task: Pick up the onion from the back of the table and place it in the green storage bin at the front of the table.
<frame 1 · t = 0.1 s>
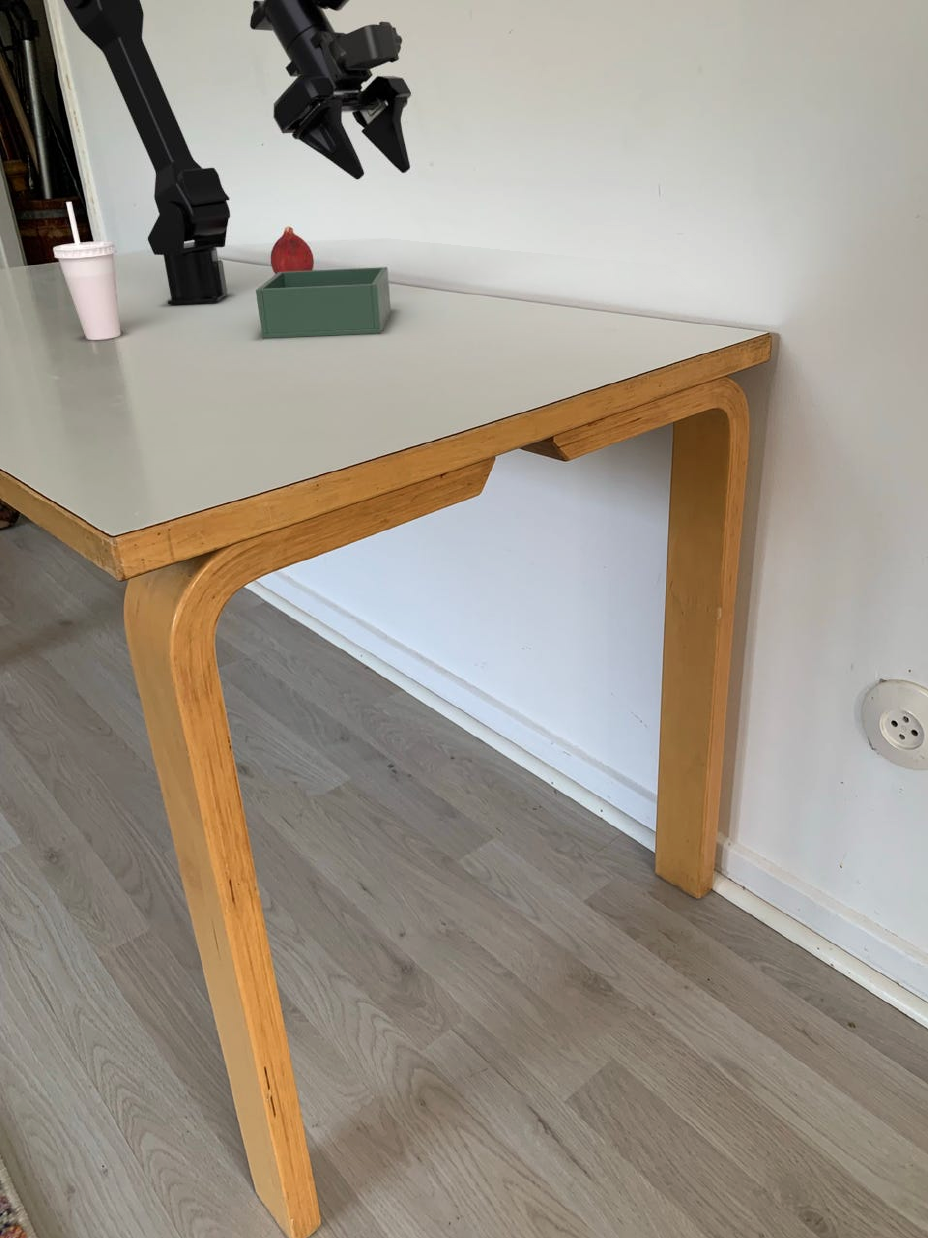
hand: (384, 173, 106), 15 cm above the table, tool tilted 35°, fingers open, 9 cm apart
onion: (295, 290, 132), on the table
green storage bin: (329, 323, 108), on the table
smoothie: (104, 337, 108), on the table
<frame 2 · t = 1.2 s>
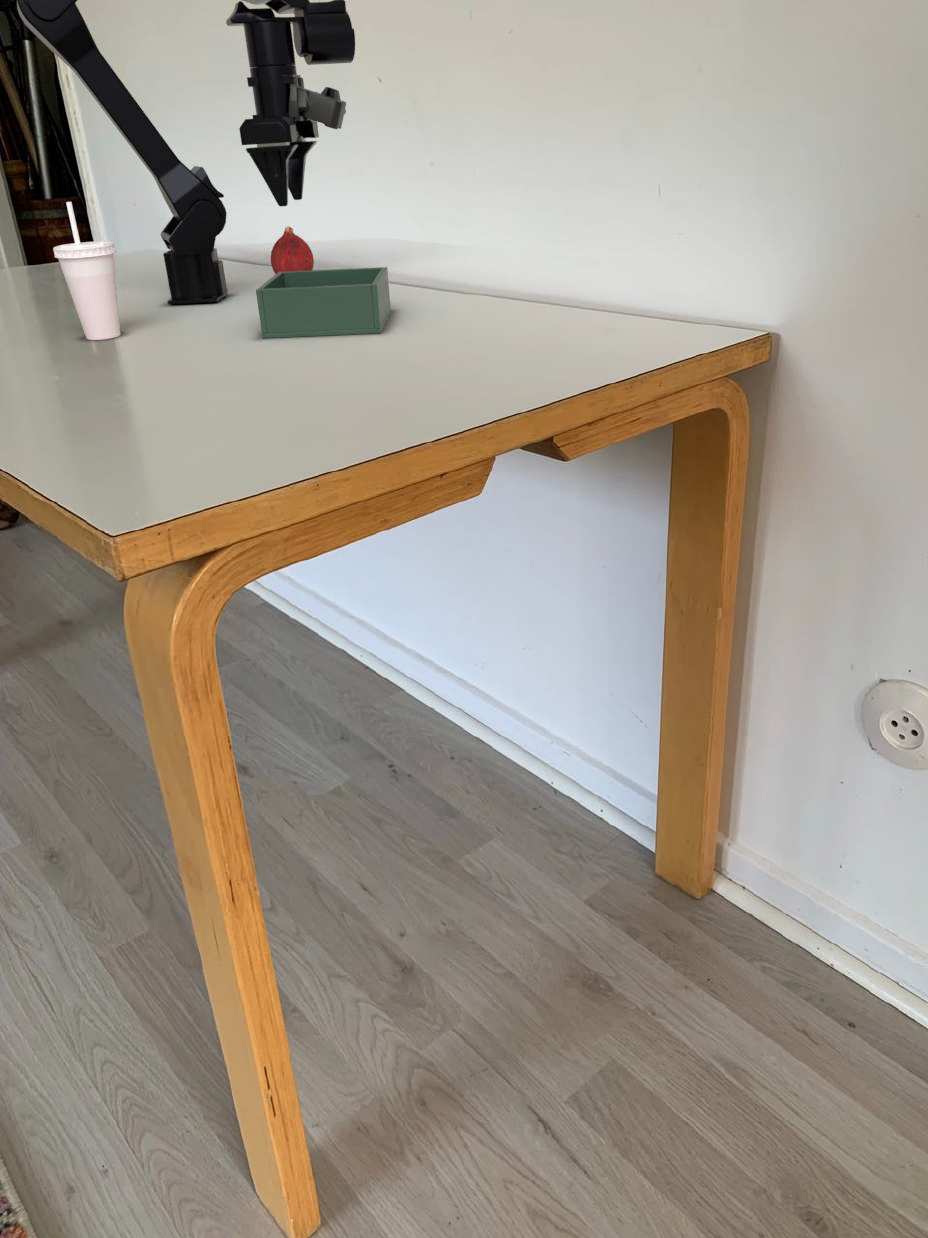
hand: (290, 202, 126), 11 cm above the table, tool pointing down, fingers open, 9 cm apart
nothing on the table moved.
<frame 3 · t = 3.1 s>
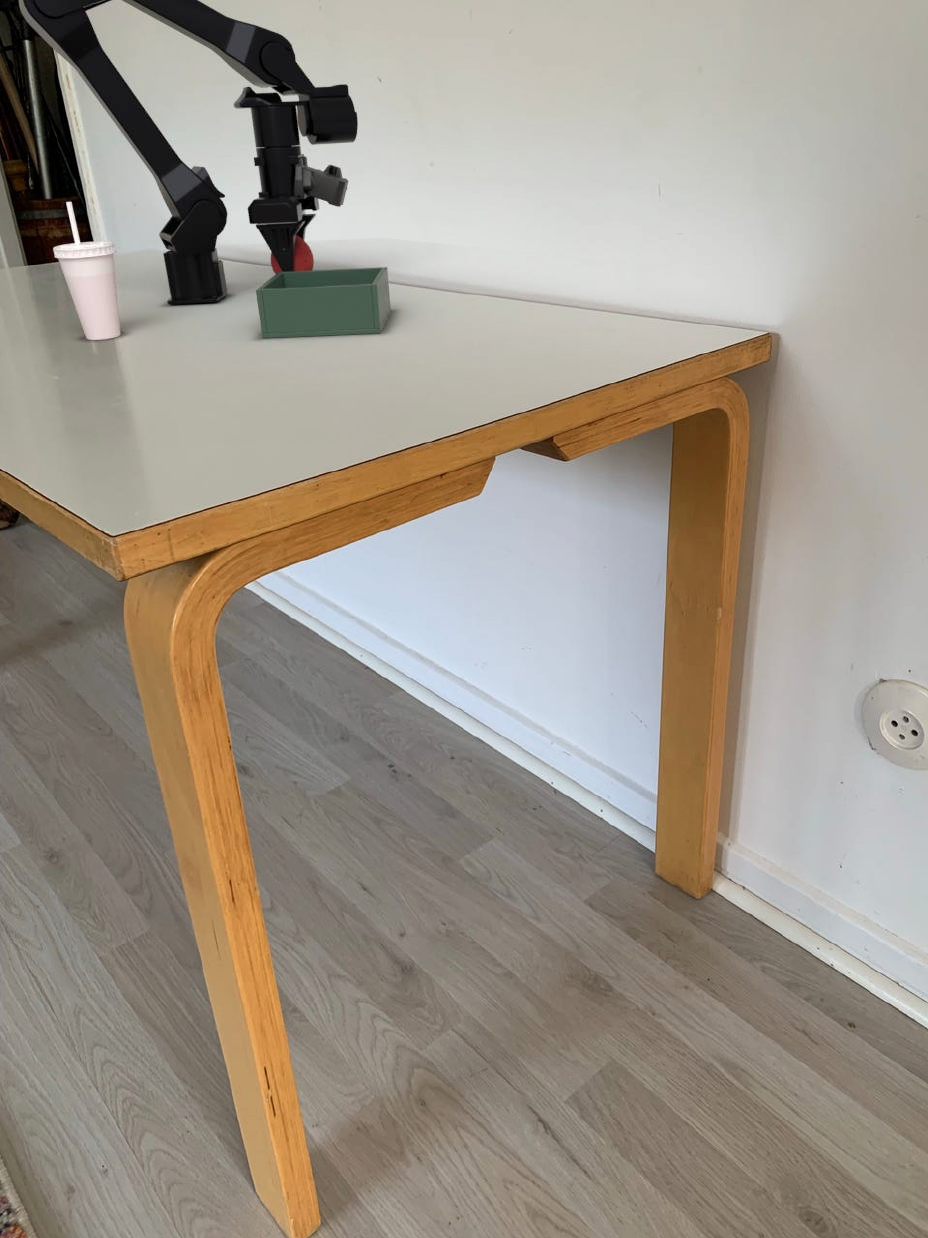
hand: (293, 273, 131), 2 cm above the table, tool pointing down, fingers closed on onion, 6 cm apart
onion: (295, 290, 132), on the table, touching gripper
everything else where it was.
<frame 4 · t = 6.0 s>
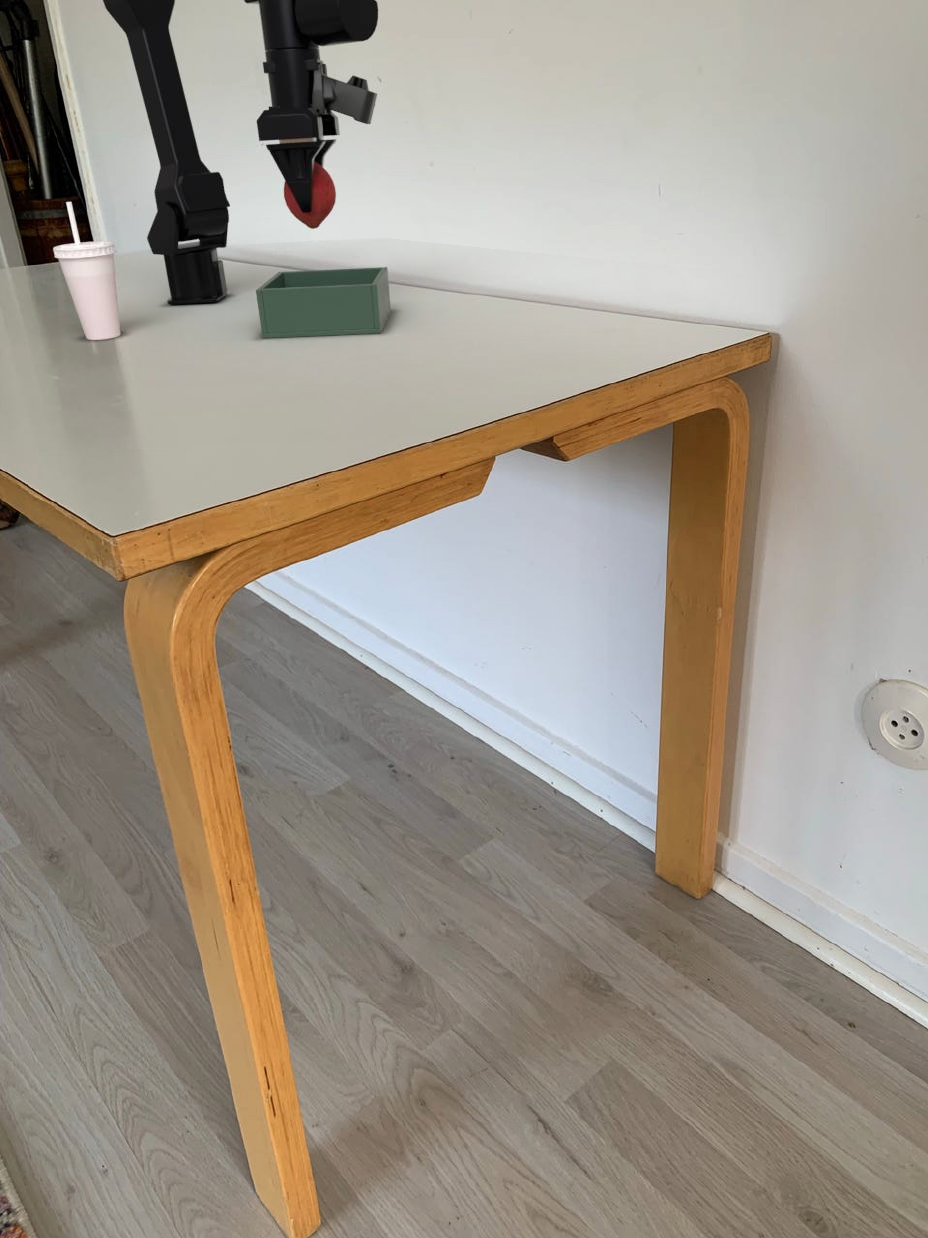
hand: (310, 209, 108), 11 cm above the table, tool pointing down, fingers closed on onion, 6 cm apart
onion: (314, 230, 109), point 9 cm above the table, touching gripper
everything else where it was.
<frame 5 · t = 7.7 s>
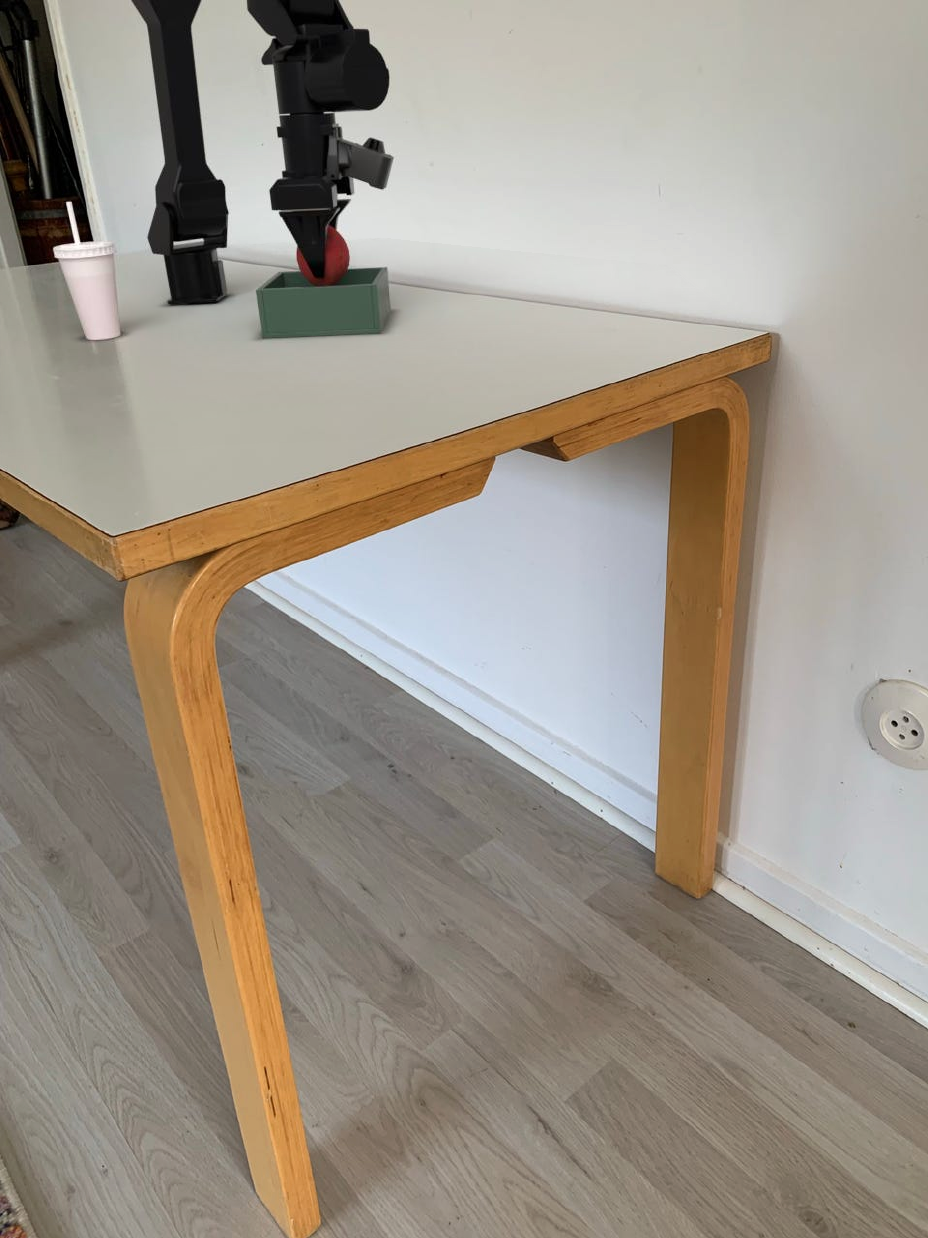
hand: (323, 273, 106), 5 cm above the table, tool pointing down, fingers closed on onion, 6 cm apart
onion: (326, 293, 107), point 3 cm above the table, touching gripper
everything else where it was.
when the fingers open (3 cm above the table, at t = 9.4 s): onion stays where it is, resting on green storage bin.
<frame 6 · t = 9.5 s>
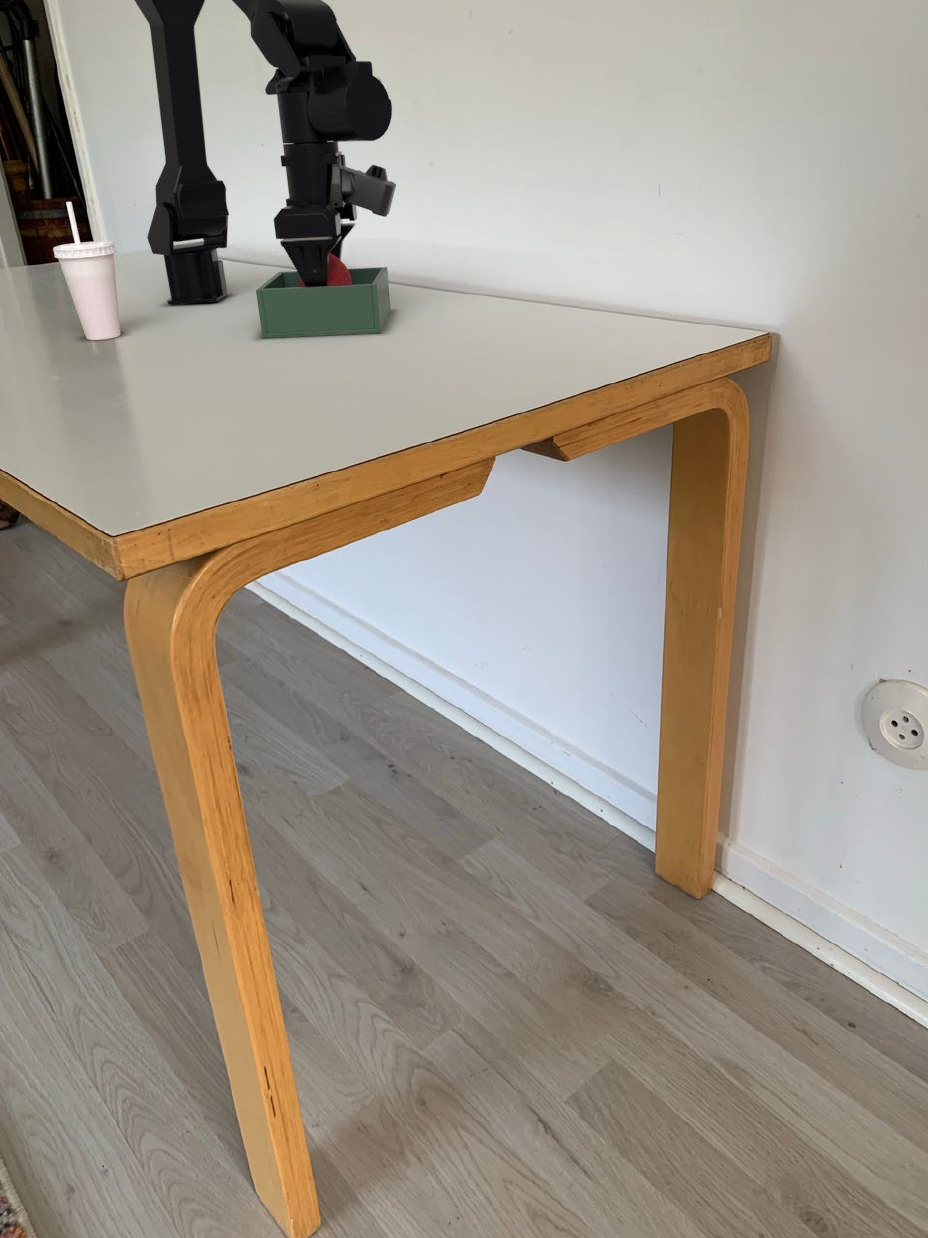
hand: (327, 298, 107), 3 cm above the table, tool pointing down, fingers open, 9 cm apart
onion: (329, 320, 108), resting on green storage bin
everything else where it was.
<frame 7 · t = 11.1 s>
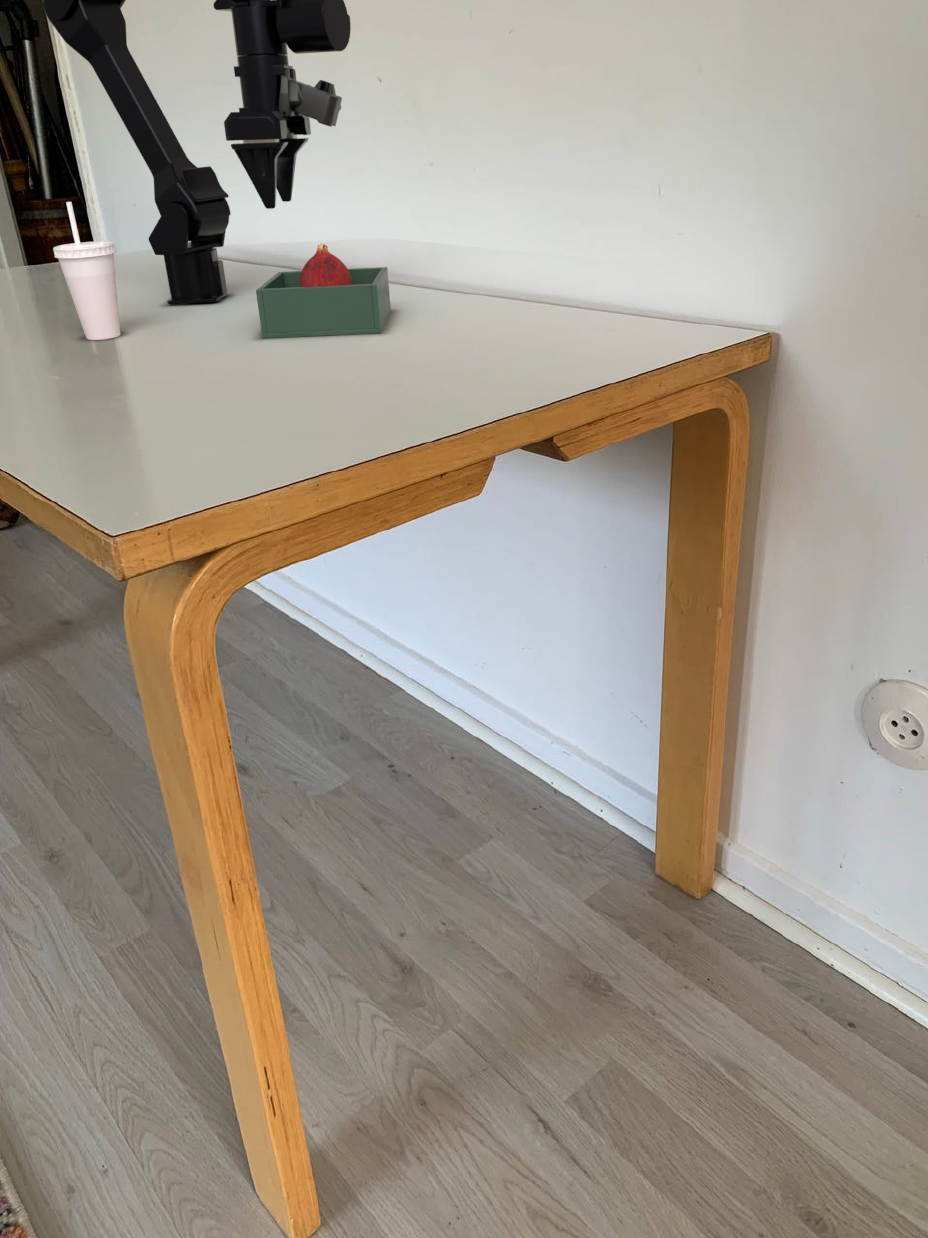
hand: (279, 204, 116), 12 cm above the table, tool pointing down, fingers open, 9 cm apart
nothing on the table moved.
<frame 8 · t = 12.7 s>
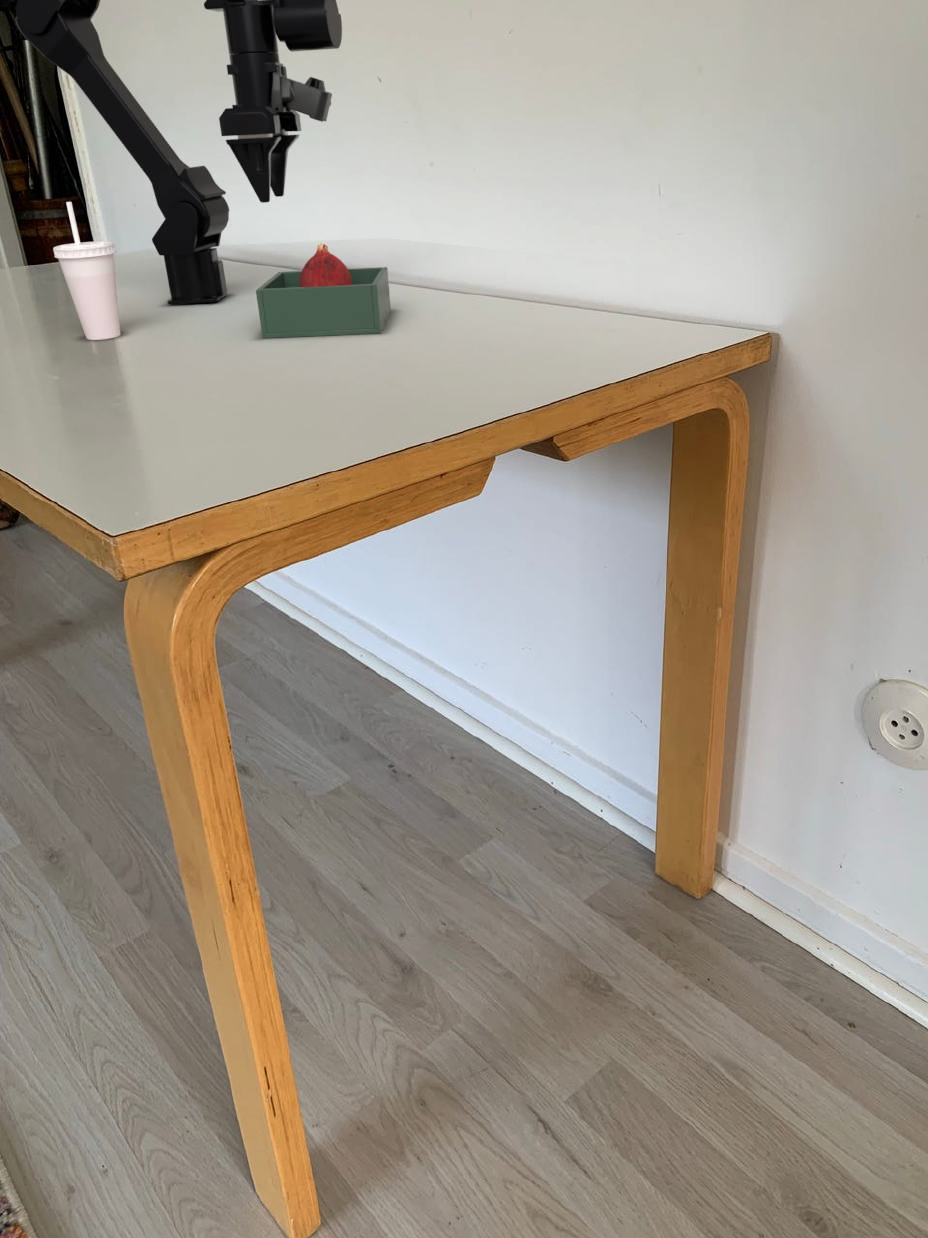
hand: (272, 199, 119), 12 cm above the table, tool pointing down, fingers open, 9 cm apart
nothing on the table moved.
at the end: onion inside the target area in the green storage bin (0.1 cm from its centre), point 0.3 cm above the green storage bin's base; the gripper is holding nothing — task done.
